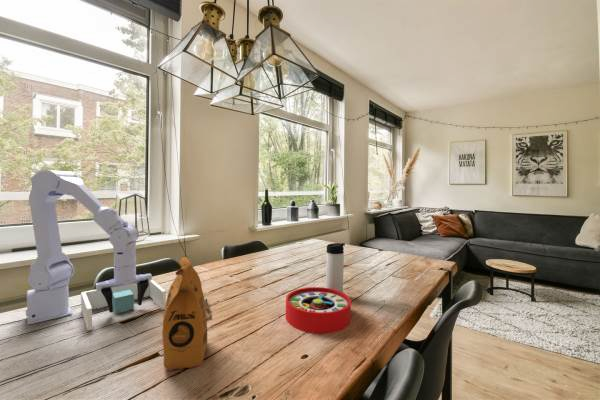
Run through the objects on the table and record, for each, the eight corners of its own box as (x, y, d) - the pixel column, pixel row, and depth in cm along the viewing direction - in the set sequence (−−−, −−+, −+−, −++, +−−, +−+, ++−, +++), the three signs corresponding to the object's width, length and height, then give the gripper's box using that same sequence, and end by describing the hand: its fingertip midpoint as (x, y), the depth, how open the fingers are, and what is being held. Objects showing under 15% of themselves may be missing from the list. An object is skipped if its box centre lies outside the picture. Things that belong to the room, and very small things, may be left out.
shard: (206, 303, 93) (206, 297, 93) (228, 309, 89) (228, 302, 89) (174, 320, 81) (174, 313, 81) (197, 327, 77) (197, 319, 77)
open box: (87, 330, 74) (87, 309, 74) (81, 311, 86) (81, 292, 85) (165, 309, 88) (165, 290, 87) (151, 294, 99) (151, 278, 99)
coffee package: (155, 376, 57) (154, 272, 56) (167, 343, 69) (166, 257, 68) (205, 368, 59) (205, 268, 58) (208, 337, 71) (208, 255, 70)
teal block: (115, 313, 84) (115, 298, 84) (112, 308, 88) (112, 293, 88) (133, 309, 88) (133, 293, 87) (130, 304, 91) (130, 289, 91)
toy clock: (275, 307, 77) (297, 284, 96) (275, 327, 77) (296, 300, 97) (346, 318, 71) (354, 291, 91) (346, 339, 72) (353, 308, 91)
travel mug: (343, 301, 95) (344, 245, 94) (324, 300, 97) (325, 244, 96) (344, 295, 101) (345, 241, 101) (326, 293, 103) (327, 241, 102)
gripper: (98, 272, 76) (98, 319, 77) (154, 263, 86) (154, 305, 87) (94, 266, 81) (95, 311, 82) (148, 258, 91) (148, 298, 92)
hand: (125, 307), depth 85 cm, fingers open, 7 cm apart
